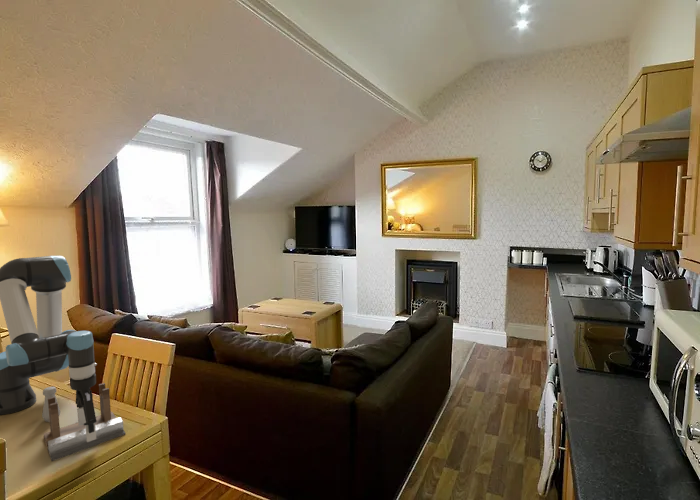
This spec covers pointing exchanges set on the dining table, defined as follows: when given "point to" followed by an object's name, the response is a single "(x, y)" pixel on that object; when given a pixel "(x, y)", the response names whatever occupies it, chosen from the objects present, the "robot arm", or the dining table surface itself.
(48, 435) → the bracket stand
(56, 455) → the rubber mat
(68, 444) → the metal rail
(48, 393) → the salt shaker
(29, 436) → the dining table surface
